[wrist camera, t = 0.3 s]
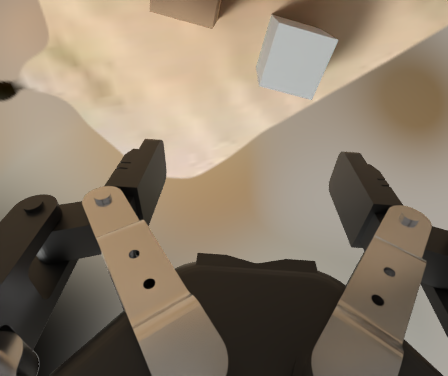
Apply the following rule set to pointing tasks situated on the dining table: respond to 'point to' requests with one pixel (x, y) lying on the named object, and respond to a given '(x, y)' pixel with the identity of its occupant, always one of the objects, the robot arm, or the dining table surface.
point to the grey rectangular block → (294, 57)
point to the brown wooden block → (189, 10)
